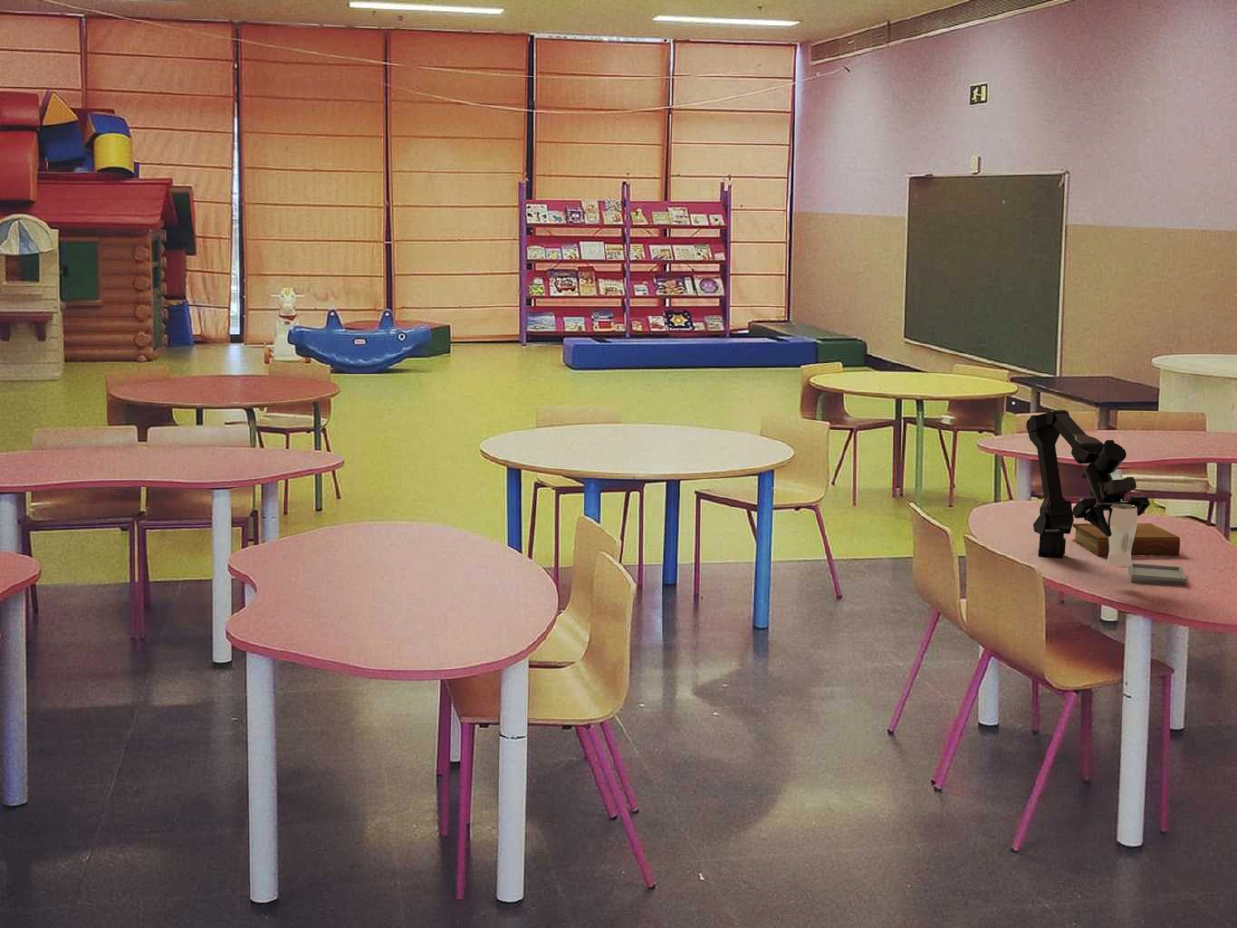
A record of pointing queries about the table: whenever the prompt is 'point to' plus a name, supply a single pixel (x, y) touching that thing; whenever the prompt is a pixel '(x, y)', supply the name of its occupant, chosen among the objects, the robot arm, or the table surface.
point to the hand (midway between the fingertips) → (1122, 535)
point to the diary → (1145, 541)
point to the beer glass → (1121, 534)
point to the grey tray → (1157, 574)
